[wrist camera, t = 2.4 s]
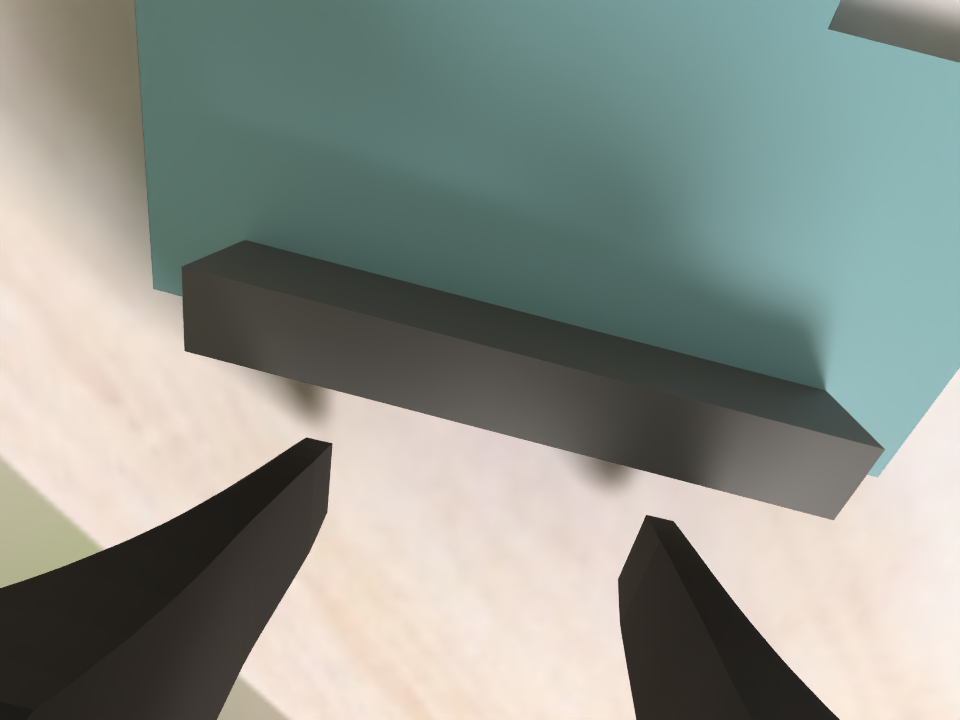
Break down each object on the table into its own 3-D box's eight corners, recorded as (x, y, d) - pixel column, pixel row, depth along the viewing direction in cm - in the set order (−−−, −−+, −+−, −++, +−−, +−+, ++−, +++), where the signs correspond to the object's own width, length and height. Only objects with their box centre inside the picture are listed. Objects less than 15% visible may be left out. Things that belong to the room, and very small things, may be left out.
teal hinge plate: (1246, -118, 7) (1653, -251, 5) (852, 449, 12) (942, 549, 9) (158, -394, 7) (-66, -685, 5) (183, 275, 12) (77, 323, 9)
